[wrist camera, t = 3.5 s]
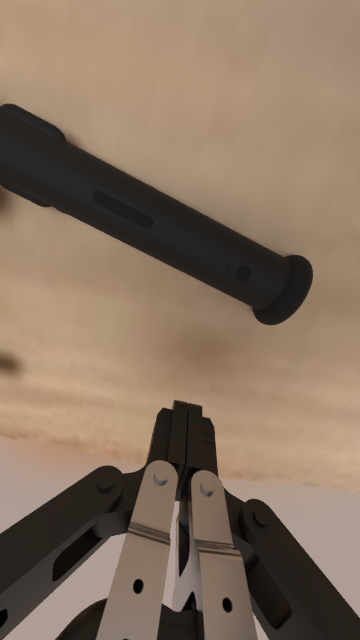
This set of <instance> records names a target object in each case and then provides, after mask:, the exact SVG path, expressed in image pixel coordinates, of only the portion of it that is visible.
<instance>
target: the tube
mask: <svg viewBox="0 0 360 640" xmlns="http://www.w3.org/2000/svg"><path fill="white" fill-rule="evenodd" d="M0 185H1V186H2V187H4V188H5V189H7V190H9V191H11V192H13V193H15V194H17V195H19V196H21V197H23V198H25V199H27V200H29V201H31V202H33V203H35V204H37V205H39V206H42V207H51V206H52V207H54V208H56V209H57V210H59V211H61V212H63V213H65V214H68V215H70V216H72V217H74V218H76V219H78V220H80V221H82V222H84V223H86V224H88V225H90V226H92V227H94V228H96V229H98V230H100V231H102V232H104V233H106V234H108V235H110V236H112V237H114V238H116V239H118V240H120V241H122V242H124V243H126V244H128V245H130V246H132V247H134V248H136V249H138V250H140V251H142V252H144V253H146V254H148V255H150V256H152V257H154V258H156V259H158V260H160V261H162V262H164V263H166V264H168V265H170V266H172V267H174V268H176V269H178V270H180V271H182V272H184V273H186V274H188V275H190V276H192V277H194V278H196V279H198V280H200V281H202V282H204V283H206V284H208V285H210V286H212V287H214V288H216V289H218V290H220V291H222V292H224V293H226V294H228V295H230V296H232V297H234V298H236V299H238V300H240V301H242V302H244V303H246V304H248V305H250V306H252V307H253V312H254V315H255V317H256V319H257V320H258V321H259V322H261V323H263V324H265V325H276V324H279V323H281V322H283V321H285V320H286V319H288V318H289V317H290V316H291V315H293V314H294V313H295V311H296V310H297V309H298V308H299V307H300V305H301V304H302V303H303V301H304V300H305V298H306V296H307V294H308V292H309V290H310V287H311V284H312V279H313V270H312V266H311V264H310V262H309V261H308V260H307V259H306V258H304V257H302V256H299V255H291V256H287V257H285V258H284V257H282V256H280V255H278V254H276V253H274V252H273V251H271V250H269V249H267V248H265V247H263V246H261V245H259V244H258V243H256V242H254V241H252V240H250V239H248V238H246V237H245V236H243V235H241V234H239V233H237V232H235V231H233V230H231V229H230V228H228V227H226V226H224V225H222V224H220V223H218V222H216V221H215V220H213V219H211V218H209V217H207V216H205V215H203V214H201V213H200V212H198V211H196V210H194V209H192V208H190V207H188V206H186V205H185V204H183V203H181V202H179V201H177V200H175V199H173V198H171V197H170V196H168V195H166V194H164V193H162V192H160V191H158V190H156V189H155V188H153V187H151V186H149V185H147V184H145V183H143V182H141V181H140V180H138V179H136V178H134V177H132V176H130V175H128V174H126V173H125V172H123V171H121V170H119V169H117V168H115V167H113V166H112V165H110V164H108V163H106V162H104V161H102V160H100V159H98V158H97V157H95V156H93V155H91V154H89V153H87V152H85V151H83V150H82V149H80V148H78V147H76V146H74V145H72V144H70V143H68V142H67V141H66V138H65V136H64V134H63V133H62V132H61V131H60V130H59V129H58V128H57V127H56V126H54V125H52V124H50V123H48V122H47V121H45V120H43V119H41V118H39V117H37V116H35V115H34V114H32V113H30V112H28V111H26V110H24V109H22V108H21V107H19V106H17V105H14V104H4V105H3V106H2V107H1V106H0Z"/></svg>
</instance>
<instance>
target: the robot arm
mask: <svg viewBox="0 0 360 640" xmlns="http://www.w3.org/2000/svg"><path fill="white" fill-rule="evenodd" d="M175 501H180V506H179V513H178V516H177V519H176V576H175V588H174V593H173V601H172V609H170V608H168V607H167V606H165V605H163V604H162V599H163V592H164V586H165V578H166V572H167V564H168V557H169V550H170V528H171V521H172V515H173V509H174V502H175ZM124 533H127V534H126V537H125V541H124V544H123V548H122V551H121V555H120V558H119V562H118V565H117V569H116V572H115V575H114V579H113V582H112V585H111V589H110V592H109V596H108V598H105V599H103V600H100V601H97V602H96V603H94V604H92V605H90V606H89V607H87V608H86V609H84V610H83V611H82V612H81V613H79V614H78V615H77V616H76V617H75V618H74V619H73V620H72V621H71V622H70V623H69V624H68V625H67V627H66V628H65V629H64V630H63V631H62V632H61V633H60V635H59V636H58V637H57V638H56V639H55V640H258V639H257V634H256V629H255V623H254V618H253V613H254V615H255V616H256V618H257V620H258V621H259V623H260V625H261V627H262V628H263V630H264V632H265V633H266V635H267V637H268V639H269V640H360V618H359V617H358V615H357V614H356V613H355V612H354V610H353V609H352V608H351V607H350V606H349V604H348V603H347V602H346V601H345V599H344V598H343V597H342V596H341V595H340V593H339V592H338V591H337V590H336V588H335V587H334V586H333V585H332V583H331V582H330V581H329V580H328V578H326V576H325V575H324V574H323V572H322V571H321V570H320V569H319V567H318V566H317V565H316V564H315V563H314V561H313V560H312V559H311V558H310V556H309V555H308V554H307V553H306V552H305V550H304V549H303V548H302V546H300V544H299V543H298V542H297V540H296V539H295V538H294V537H293V536H292V534H291V533H290V532H289V530H288V529H287V528H286V527H285V526H284V524H283V523H282V522H281V521H280V519H279V518H278V517H277V516H276V515H275V513H274V512H273V511H272V510H271V508H270V507H269V506H268V505H266V504H265V503H264V502H262V501H260V500H257V499H250V500H248V501H246V502H243V501H242V500H240V499H238V498H236V497H235V496H233V495H232V494H230V493H229V492H228V491H227V490H226V489H225V488H224V487H223V485H222V483H221V481H220V479H219V477H218V469H217V456H216V445H215V431H214V426H213V424H212V422H211V420H210V418H206V417H202V406H199V405H195V404H191V403H186V402H182V401H178V400H174V403H173V406H172V410H171V409H167V408H162V409H161V411H160V412H159V413H158V415H157V419H156V422H155V426H154V430H153V434H152V438H151V443H150V448H149V453H148V458H147V462H146V465H145V466H144V467H143V468H142V469H140V470H138V471H136V472H133V473H125V474H122V473H121V471H120V470H119V469H117V468H115V467H113V466H102V467H99V468H97V469H96V470H94V471H93V472H91V473H90V474H88V475H87V476H85V477H84V478H82V479H81V480H79V481H78V482H77V483H75V484H74V485H72V486H70V487H69V488H67V489H66V490H65V491H63V492H61V493H60V494H58V495H57V496H56V497H54V498H53V499H51V500H50V501H48V502H47V503H45V504H44V505H42V506H41V507H40V508H38V509H36V510H35V511H33V512H32V513H30V514H29V515H27V516H26V517H24V518H23V519H22V520H20V521H19V522H17V523H15V524H14V525H13V526H11V527H10V528H9V529H7V530H5V531H4V532H2V533H1V534H0V640H2V639H4V638H5V636H7V635H8V634H9V633H10V632H11V631H12V630H13V629H14V628H15V627H16V626H17V625H18V624H19V623H20V622H21V621H23V620H24V619H25V618H26V617H27V616H28V615H29V614H30V613H31V612H32V611H33V610H34V609H35V608H36V607H37V606H38V605H39V604H40V603H41V602H43V600H44V599H46V598H47V597H48V596H49V595H50V594H51V593H52V592H53V591H54V590H55V589H56V588H57V587H58V586H59V585H61V584H62V582H64V581H65V580H66V579H67V578H68V577H69V576H70V575H71V574H72V573H73V572H74V571H75V570H76V569H77V568H78V567H80V566H81V565H82V564H83V563H84V562H85V561H86V560H87V559H88V558H89V557H90V556H91V555H92V554H93V553H94V552H95V551H96V550H97V549H98V548H100V546H102V545H103V544H104V543H105V542H106V541H107V540H108V539H109V538H110V537H111V536H114V535H119V534H124ZM252 611H253V612H252Z"/></svg>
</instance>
